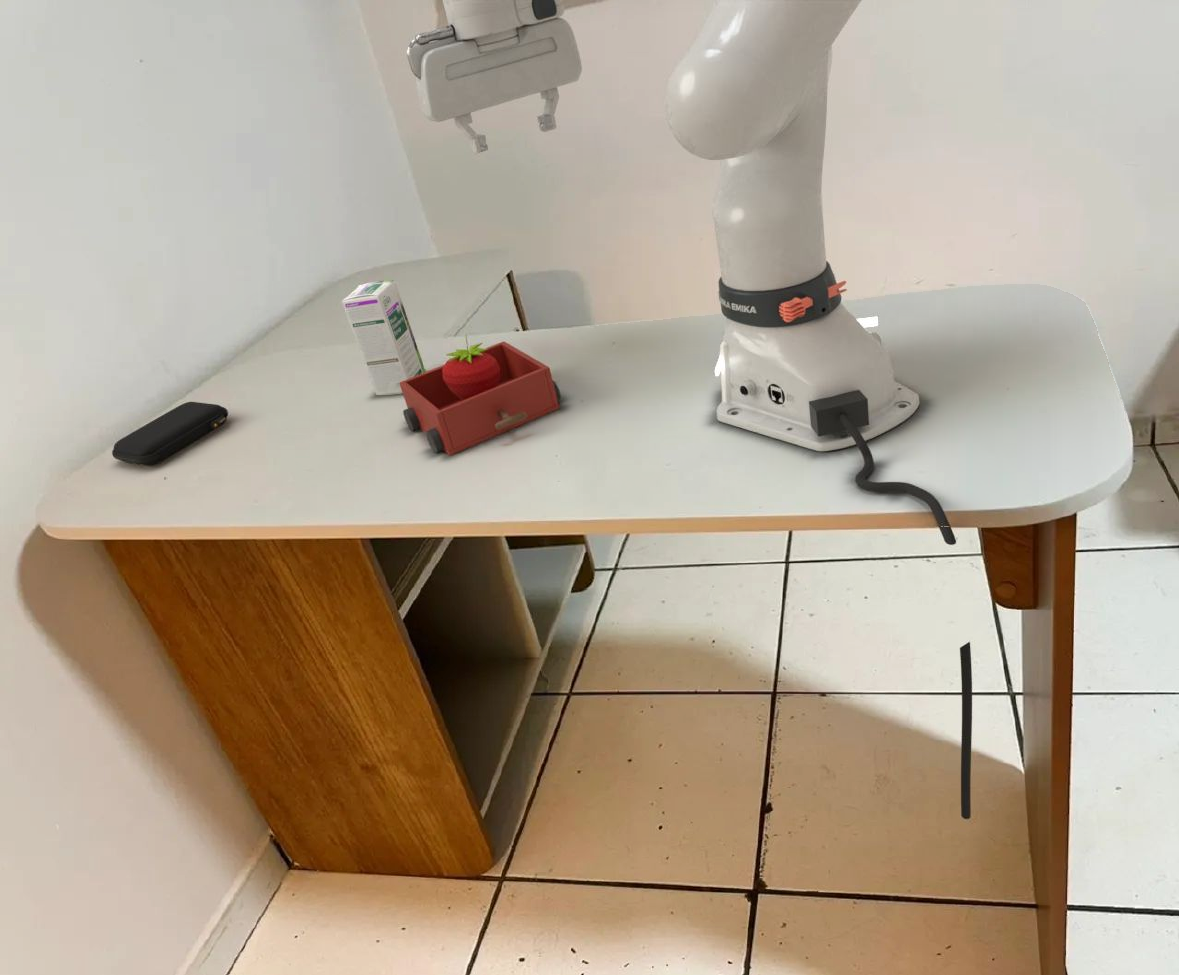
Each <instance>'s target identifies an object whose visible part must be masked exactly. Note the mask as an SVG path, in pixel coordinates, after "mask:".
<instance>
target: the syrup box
mask: <svg viewBox="0 0 1179 975" xmlns="http://www.w3.org/2000/svg"><path fill="white" fill-rule="evenodd" d="M341 304H342V306H343V309H344V312H345V315H346V317H347V320H348V323H349V325H350V328H351V330H352V334H353V337H354V339H355V342H356V344H357V348H358V350H359V352H360V355H361V358H362V360H363V363H364V365H365V366H364V367H365V368H366V371H367V374H368V377H369V379H370V382H371V386H372V387H373V390H374V393H375V395H376V396H391V395H392V396H393V395H401V394H402V395H403V393H402V390H401V387H400V384H399V383H400V382H402V381H404V380H407V379H409V378H412V377H414V376H417V375H419V374H422V373H424V372H427V371H426V369H425V366H424V363H423V360H422V356H421V354H420V350H419V348H418V345H417V342H416V338H415V336H414V333H413V330H412V327H411V324H410V321H409V317H408V315H407V312H406V310H405V306H404V303H403V301H402V297H401V295H400V290H399V288H398V285H397V283H396V280H394V279H388V280H387V279H386V280H385V279H384V280H377V281H370V282H367V283H363V284H359V285H357V288H355V289H354V290H353V291H352V292H351V293H349V295H347V296H346V297H344V298H343V299H342V300H341Z"/></svg>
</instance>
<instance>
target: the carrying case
mask: <svg viewBox="0 0 1179 975" xmlns="http://www.w3.org/2000/svg"><path fill="white" fill-rule="evenodd" d="M228 416H229V411H228V409H227V408H226V407H224V406H221V405H219V404H216V403H208V402H199V401H187V402H184V403H182V404H180V405H178V406H176V407H175V408H173V409H171V410H169V411H167V412H165V413H164V414H162V415H160V416H159V417H156V418H154V419H153V420H151V421H149V422H148V423H146V424H145V425H143V426H140V427H139V428H138V429H135V430H133V431H132V432H131V433H129V434H128V435H125V436H124V437H122V438H119V440H117V441H116V442H115V443H114V445H113V449H112V450H111V451H112V452H111V456H112V457H113V458H114V459H115V460H118V461H122V462H124V463H125V462H126V463H130V464H136V465H141V466H146V467H147V466H148V467H154V466H157V465H159V464H161V463H162V462H165V461H166V460H168V459H170V458H171V457H173V456H174V455H177V454H179V453H180V452H181V451H183V450H184V449H186V448H187V447H189V446H191V445H192V444H194V443H196V442H198V441H200V440H201V439H202V438H204V437H206V436H208V435H209V434H210V433H213V432H214V431H215V430H217V429H218V428H220V427H221V426H223V425H224V424H225V423H226V422H227V420H228Z"/></svg>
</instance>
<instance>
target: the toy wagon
mask: <svg viewBox="0 0 1179 975" xmlns="http://www.w3.org/2000/svg"><path fill="white" fill-rule="evenodd" d="M484 349H489V350H486V351H483V353H487V354H489V355H491V356H492V357H494V358H495V359H496V361H497V363H498V365H499V367H500V381H499V384H498V386H497V387H495V388H492V389H490V390H487V391H485V392H483V393H480V394H478V395H475V396H473V397H470V398H468V399H466V400H463V401H462V400H461V399H460V398H459V397H457V396H456V395H455V394H454V393H453V392H452V391H451V390H450V389H449V387H448V386H447V384H446V383H445V381H444V380H443V372H442V369H443V367H444V365H445V364H443V365H440V366H438V367H435V368H432V369H430V370H427V371H426V372H424V373H422V374H419V375H417V376H414V377H412V378H409V379H407V380H404V381H402V382H400V383H399V384H400V387H401V390H402V396H403V399H404V402H405V404H406V407H407V408H406V409H403V411H402V413H403V414H402V415H403V417H404V420H405V422H406V424H407V426H408V428H409V429H410V430H411V431H412V432H413V431H416V430H418V429H420V430H421V431H422V432H423V433H424V434H425V436H426V439H427V442H428V444H429V446H430V448H431V449H432V451H433V452H434V453H436V454H437V453H439V452H441V451H444V452H445V453H446V454H447V455H448V456H453V455H455V454H457V453H459V452H462V451H464V450H466V449H469V448H471V447H473V446H476V445H478V444H480V443H483V442H485V441H487V440H489V439H492V438H494V437H497V436H499V435H501V434H504V433H506V432H508V431H511V430H513V429H515V428H518V427H520V426H522V425H524V424H526V423H529V422H531V421H534V420H536V419H538V418H541V417H544V416H545V415H547V414H550V413H553V412H554V411H556V410H559V409H560V404H559V401H560V400H561V397H562V396H561V392H560V389H559V386H558V384H557V383H556V381H554V380H553V376H552V372H551V367H549V366H548V365H547V364H545V363H543V362H541V361H539V360H537V359H535V358H534V357H532V356H530V355H529V354H527V353H525V352H523V351H522V350H520V349H518V348H516V347H515V346H513V345H511V344H510V343H508V342H506V341H503V340H502V341H501V342H499V343H495V344H493V345H491V346H488V347H486V348H485V347H484Z"/></svg>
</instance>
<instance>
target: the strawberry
mask: <svg viewBox="0 0 1179 975" xmlns="http://www.w3.org/2000/svg"><path fill="white" fill-rule="evenodd" d="M465 342H466V349H457V348H456V349H455V351H452V352H450V353H447V354H446V356H448V357H449V356H451V358H449V359H448V360H446V361H445V363H444V364H443V365H444V367H443V369H442V372H443V380H444V381H445V383H446V384H447V386H448V387H449V389H450V390H451V391H452V392H453V393H454V394H455V395H456V396H457V397H459V398H460V399H461V400H462V401H463V400H466V399H468V398H470V397H473V396H475V395H478V394H480V393H483V392H485V391H487V390H490V389H492V388H495V387H497V386H498V384H499V381H500V367H499V365H498V363H497V361H496V359H495V358H494V357H492V356H491V355H489V354H487V353H483V351H486V350H489V349H485V348H481V347H480V346H482V344H483V342H480V343H477V344H474V345H471V346H470V347H469V344H468V336H467V334H465Z"/></svg>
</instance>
